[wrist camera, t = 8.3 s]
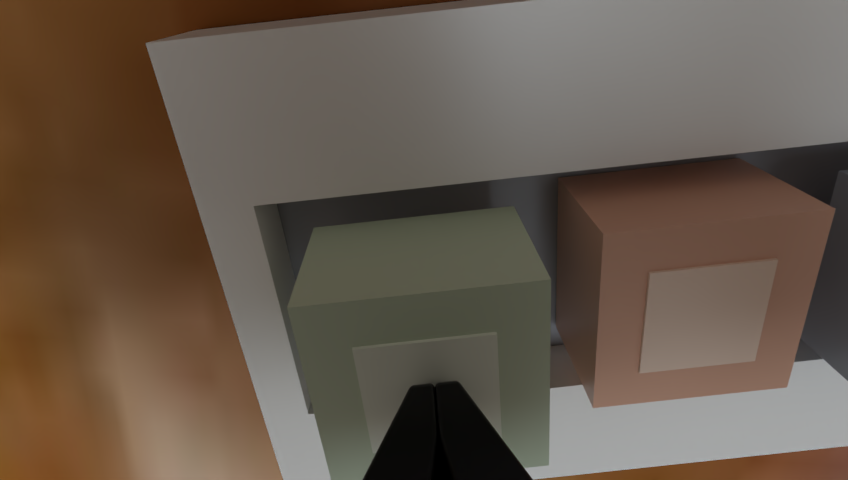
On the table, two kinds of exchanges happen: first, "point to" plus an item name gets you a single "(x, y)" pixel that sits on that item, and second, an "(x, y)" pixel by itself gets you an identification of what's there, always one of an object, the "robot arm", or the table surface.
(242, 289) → the keypad
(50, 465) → the table surface
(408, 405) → the robot arm
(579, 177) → the key terracotta
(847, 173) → the key slate
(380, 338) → the key sage
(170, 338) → the table surface
